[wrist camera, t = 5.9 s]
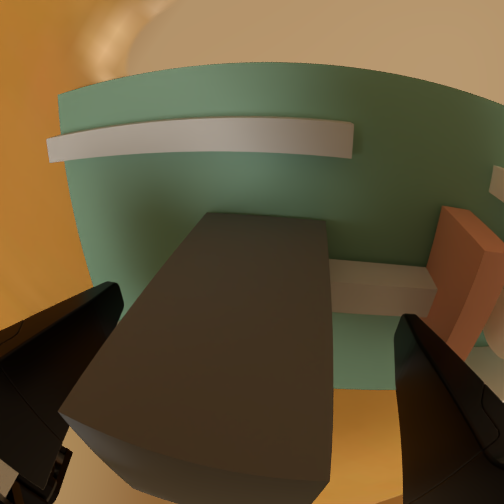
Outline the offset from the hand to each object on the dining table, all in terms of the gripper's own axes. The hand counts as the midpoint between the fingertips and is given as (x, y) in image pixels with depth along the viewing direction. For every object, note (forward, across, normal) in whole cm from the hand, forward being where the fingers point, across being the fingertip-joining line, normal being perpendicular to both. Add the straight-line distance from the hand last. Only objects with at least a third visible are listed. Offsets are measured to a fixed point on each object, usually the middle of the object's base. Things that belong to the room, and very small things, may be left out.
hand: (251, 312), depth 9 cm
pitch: (+4, -4, 0) cm, 5 cm away
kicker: (+2, -3, 0) cm, 4 cm away
